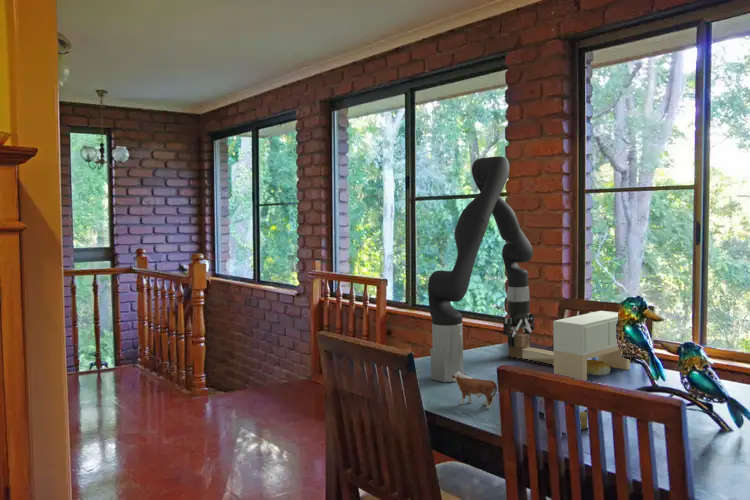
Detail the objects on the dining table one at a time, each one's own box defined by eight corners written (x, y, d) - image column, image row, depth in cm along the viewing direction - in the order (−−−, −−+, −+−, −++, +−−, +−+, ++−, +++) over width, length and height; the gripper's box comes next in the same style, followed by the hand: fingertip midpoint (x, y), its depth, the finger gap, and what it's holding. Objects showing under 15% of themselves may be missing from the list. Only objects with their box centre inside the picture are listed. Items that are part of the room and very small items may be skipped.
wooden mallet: (567, 368, 200) (567, 343, 199) (508, 356, 218) (508, 333, 218) (575, 366, 202) (574, 341, 202) (516, 354, 221) (515, 332, 220)
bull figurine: (455, 398, 171) (455, 369, 170) (499, 406, 162) (499, 376, 162) (447, 402, 167) (446, 372, 167) (491, 411, 159) (491, 379, 158)
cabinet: (584, 384, 180) (584, 324, 179) (554, 377, 188) (553, 320, 187) (631, 369, 196) (631, 314, 195) (601, 363, 205) (601, 310, 204)
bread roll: (594, 368, 200) (594, 355, 200) (614, 374, 192) (614, 361, 191) (573, 371, 197) (573, 358, 197) (593, 377, 189) (593, 364, 188)
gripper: (513, 302, 209) (515, 350, 210) (540, 297, 218) (540, 343, 219) (496, 300, 215) (497, 346, 216) (522, 295, 224) (523, 340, 225)
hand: (519, 345), depth 217 cm, fingers open, 8 cm apart
